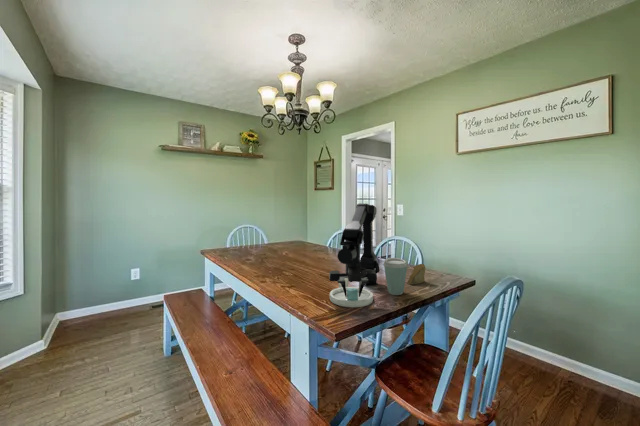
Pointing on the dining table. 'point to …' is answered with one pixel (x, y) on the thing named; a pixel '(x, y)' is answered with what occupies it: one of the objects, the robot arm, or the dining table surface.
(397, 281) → the disposable coffee cup
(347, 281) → the cream bead
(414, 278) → the brown bread wedge
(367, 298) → the groove dish
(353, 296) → the teal bead
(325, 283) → the dining table surface
